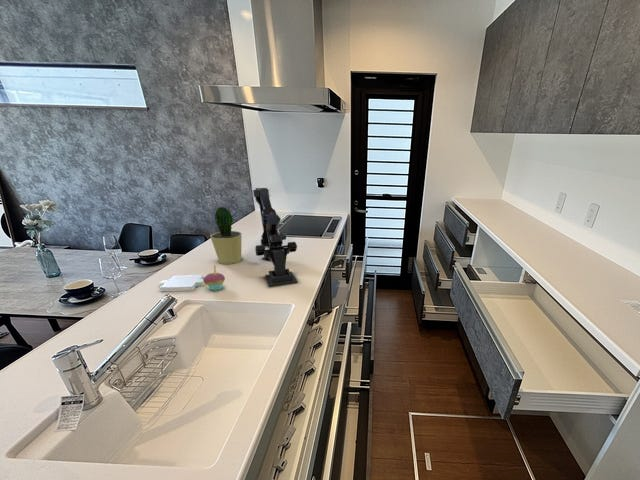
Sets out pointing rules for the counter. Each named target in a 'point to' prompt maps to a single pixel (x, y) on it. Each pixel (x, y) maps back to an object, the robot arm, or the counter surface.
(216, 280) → the cupcake
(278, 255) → the post
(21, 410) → the counter surface
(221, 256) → the potted cactus
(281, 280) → the socket pad
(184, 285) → the mounting plate
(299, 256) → the counter surface
